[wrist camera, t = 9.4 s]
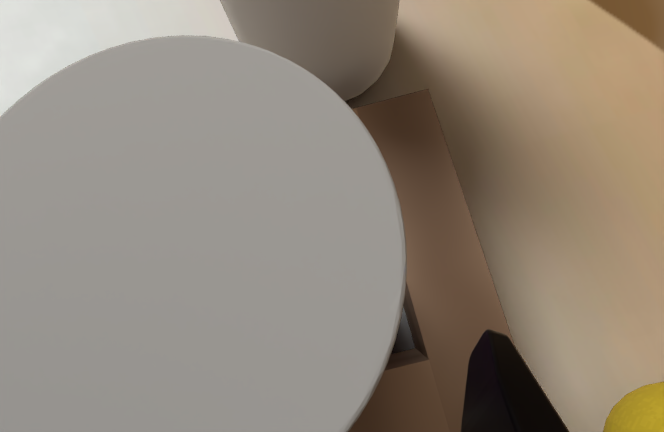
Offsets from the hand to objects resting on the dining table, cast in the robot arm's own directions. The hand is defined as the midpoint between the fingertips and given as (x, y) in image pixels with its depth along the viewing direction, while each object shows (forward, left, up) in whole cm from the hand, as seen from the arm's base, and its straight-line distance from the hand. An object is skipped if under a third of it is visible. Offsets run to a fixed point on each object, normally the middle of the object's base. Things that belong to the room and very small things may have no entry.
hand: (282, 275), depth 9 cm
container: (0, 0, -10) cm, 10 cm away
